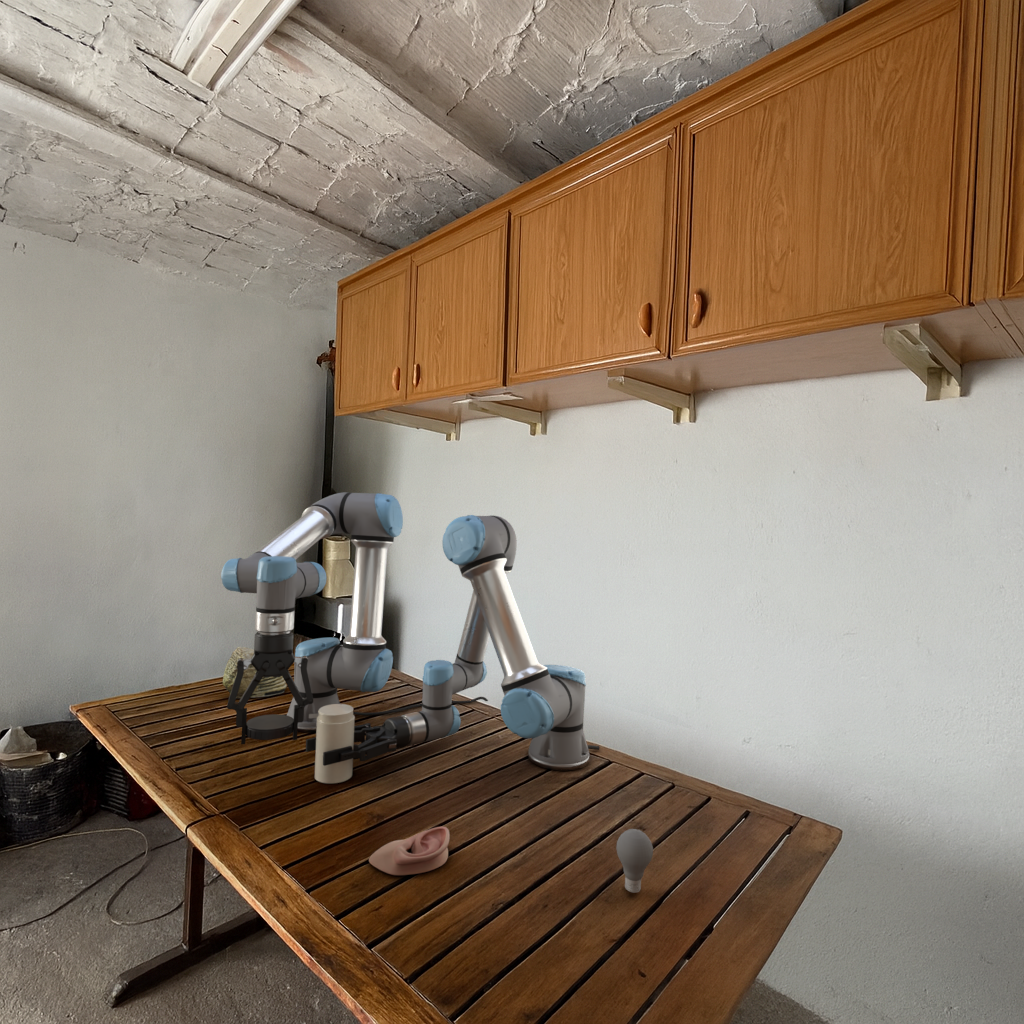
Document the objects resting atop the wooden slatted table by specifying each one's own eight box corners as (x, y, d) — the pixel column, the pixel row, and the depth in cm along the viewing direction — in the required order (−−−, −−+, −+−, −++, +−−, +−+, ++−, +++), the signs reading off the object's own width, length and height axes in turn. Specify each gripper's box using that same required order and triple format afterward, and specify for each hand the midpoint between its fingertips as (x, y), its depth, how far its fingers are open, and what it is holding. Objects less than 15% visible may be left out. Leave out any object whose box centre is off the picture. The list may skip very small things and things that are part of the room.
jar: (319, 767, 148) (321, 702, 148) (355, 767, 149) (358, 703, 148) (310, 783, 140) (312, 715, 139) (348, 783, 140) (351, 715, 140)
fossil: (218, 695, 195) (220, 647, 195) (278, 685, 208) (279, 640, 207) (228, 703, 189) (230, 653, 188) (289, 692, 201) (290, 645, 201)
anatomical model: (361, 846, 108) (388, 814, 119) (360, 870, 108) (387, 835, 119) (436, 859, 105) (456, 825, 117) (435, 882, 105) (455, 846, 117)
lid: (255, 743, 124) (255, 733, 124) (238, 729, 131) (238, 719, 131) (301, 733, 131) (301, 723, 131) (282, 721, 138) (283, 711, 138)
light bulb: (610, 879, 108) (613, 822, 108) (644, 879, 109) (647, 822, 109) (619, 902, 102) (622, 840, 102) (655, 901, 103) (658, 840, 103)
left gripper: (214, 636, 124) (209, 751, 124) (330, 633, 131) (325, 741, 131) (217, 629, 131) (212, 737, 131) (327, 626, 138) (323, 729, 138)
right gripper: (426, 760, 148) (335, 786, 133) (381, 733, 164) (295, 753, 149) (427, 729, 148) (336, 751, 133) (382, 704, 164) (296, 721, 149)
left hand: (269, 739), depth 131 cm, fingers closed on lid, 9 cm apart
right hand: (315, 752), depth 141 cm, fingers closed on jar, 8 cm apart
